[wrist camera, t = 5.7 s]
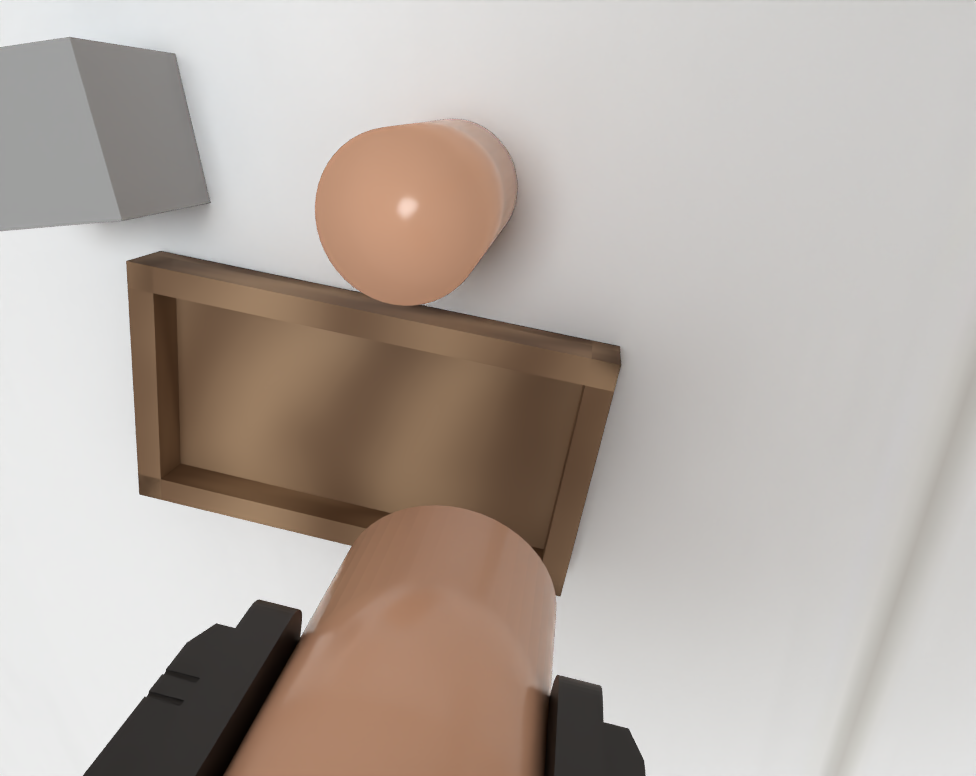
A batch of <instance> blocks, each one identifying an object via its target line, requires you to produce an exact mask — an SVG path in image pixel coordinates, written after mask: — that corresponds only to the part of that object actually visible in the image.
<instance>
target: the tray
mask: <svg viewBox="0 0 976 776" xmlns="http://www.w3.org/2000/svg"><path fill="white" fill-rule="evenodd" d="M126 264H127V282H128V300H129V318H130V336H131V353H132V371H133V389H134V407H135V425H136V443H137V460H138V478H139V494H140V495H144V496H148V497H153V498H157V499H161V500H165V501H169V502H173V503H177V504H181V505H186V506H190V507H194V508H198V509H202V510H206V511H210V512H214V513H219V514H223V515H227V516H231V517H235V518H239V519H243V520H247V521H252V522H256V523H260V524H264V525H268V526H272V527H276V528H280V529H285V530H289V531H293V532H297V533H301V534H305V535H309V536H313V537H318V538H322V539H326V540H330V541H334V542H338V543H342V544H346V545H350V546H352V545H353V543H354V542H355V540H356V539H357V538H358V537H359V536H360V535H361V533H362V532H363V531H364V530H366V529H367V528H368V527H369V526H370V525H371V524H373V523H374V522H376V521H378V520H379V519H381V518H382V517H385V516H387V515H389V514H391V513H393V512H396V511H400V510H403V509H406V508H412V507H418V506H430V505H440V506H452V507H457V508H463V509H467V510H471V511H474V512H477V513H480V514H483V515H485V516H487V517H490V518H492V519H494V520H496V521H498V522H500V523H501V524H503V525H505V526H507V527H508V528H510V529H511V530H512V531H514V532H515V533H516V534H518V535H519V536H520V537H521V538H522V539H523V540H525V541H526V542H527V543H528V544H529V545H530V546H531V547H532V549H533V550H534V551H535V552H536V553H537V555H538V556H539V557H540V559H541V560H542V562H543V564H544V565H545V567H546V568H547V571H548V573H549V575H550V577H551V580H552V583H553V587H554V590H555V595H557V596H561V592H562V588H563V584H564V581H565V577H566V573H567V569H568V565H569V561H570V558H571V554H572V550H573V546H574V542H575V539H576V535H577V531H578V527H579V523H580V519H581V516H582V512H583V508H584V504H585V500H586V497H587V493H588V489H589V485H590V481H591V478H592V474H593V470H594V466H595V462H596V458H597V455H598V451H599V447H600V443H601V439H602V436H603V432H604V428H605V424H606V420H607V416H608V413H609V409H610V405H611V401H612V397H613V394H614V390H615V386H616V382H617V378H618V375H619V371H620V367H621V358H620V346H615V345H611V344H606V343H601V342H596V341H591V340H586V339H582V338H577V337H572V336H567V335H562V334H558V333H553V332H548V331H543V330H538V329H533V328H529V327H524V326H519V325H514V324H509V323H505V322H500V321H495V320H490V319H485V318H480V317H476V316H471V315H466V314H461V313H456V312H452V311H447V310H442V309H437V308H432V307H427V306H423V305H413V306H402V305H393V304H389V303H385V302H381V301H378V300H376V299H373V298H371V297H369V296H367V295H365V294H363V293H360V292H355V291H350V290H346V289H341V288H336V287H331V286H326V285H321V284H317V283H312V282H307V281H302V280H297V279H293V278H288V277H283V276H278V275H273V274H268V273H264V272H259V271H254V270H249V269H244V268H240V267H235V266H230V265H225V264H220V263H215V262H211V261H206V260H201V259H196V258H191V257H187V256H182V255H177V254H172V253H167V252H162V251H159V252H156V253H152V254H149V255H145V256H142V257H139V258H135V259H132V260H128V261H126Z"/></svg>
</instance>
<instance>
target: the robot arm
mask: <svg viewBox="0 0 976 776" xmlns="http://www.w3.org/2000/svg"><path fill="white" fill-rule="evenodd" d="M301 624H302V612H301V610H299V609H295V608H291V607H287V606H283V605H279V604H275V603H271V602H267V601H263V600H257V601H255V602H254V603H253V604H252V606H251V607H250V608H249V610H248V611H247V612H246V614H245V615H244V617H243V618H242V620H241V621H240V622H239V624H238V625H237V627H236V628H232V627H228V626H224V625H220V624H215V625H213V626H212V627H210V628H209V629H207V630H206V631H204V632H203V633H201V634H200V635H198V636H196V637H195V638H193V639H192V640H190V641H189V642H187V643H186V645H185V646H184V647H183V648H182V650H181V651H180V652H179V653H178V655H177V656H176V657H175V659H174V660H173V661H172V662H171V664H170V665H169V666H168V668H167V669H166V672H165V674H164V675H163V674H162V675H161V676H160V678H159V679H158V680H157V682H156V683H155V684H154V685H153V687H152V688H151V689H150V691H149V694H148V696H147V697H144V698H143V699H142V701H141V702H140V703H139V705H138V706H137V707H136V708H135V710H134V711H133V712H132V714H131V715H130V716H129V717H128V719H127V720H126V721H125V722H124V724H123V725H122V726H121V728H120V729H119V730H118V731H117V733H116V734H115V735H114V737H113V738H112V739H111V740H110V742H109V743H108V744H107V745H106V747H105V748H104V749H103V751H102V752H101V753H100V754H99V756H98V757H97V758H96V760H95V761H94V762H93V763H92V765H91V766H90V767H89V768H88V770H87V771H86V772H85V774H84V775H83V776H223V774H224V773H225V771H226V769H227V767H228V766H229V764H230V762H231V760H232V758H233V757H234V755H235V753H236V751H237V750H238V748H239V746H240V744H241V742H242V741H243V739H244V737H245V735H246V733H247V732H248V730H249V728H250V726H251V725H252V723H253V721H254V719H255V717H256V716H257V714H258V712H259V710H260V709H261V707H262V705H263V703H264V701H265V700H266V698H267V696H268V694H269V693H270V691H271V689H272V687H273V685H274V684H275V682H276V680H277V678H278V676H279V675H280V673H281V671H282V669H283V668H284V666H285V664H286V662H287V660H288V659H289V657H290V655H291V653H292V652H293V650H294V648H295V646H296V644H297V643H298V641H299V639H300V634H301ZM544 776H645V765H644V759H643V757H642V755H641V753H640V751H639V749H638V747H637V745H636V743H635V741H634V739H633V737H632V735H631V733H630V731H629V729H628V728H624V727H620V726H616V725H612V724H608V723H604V722H603V695H602V688H601V686H600V685H596V684H592V683H588V682H584V681H580V680H576V679H572V678H568V677H564V676H560V675H557V676H556V678H555V680H554V683H553V687H552V690H551V693H550V699H549V714H548V728H547V743H546V757H545V772H544Z"/></svg>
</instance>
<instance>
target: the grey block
mask: <svg viewBox="0 0 976 776" xmlns="http://www.w3.org/2000/svg"><path fill="white" fill-rule="evenodd" d="M206 203H211V202H210V198H209V194H208V190H207V186H206V181H205V177H204V173H203V169H202V165H201V160H200V156H199V152H198V148H197V144H196V139H195V135H194V131H193V127H192V123H191V118H190V114H189V110H188V106H187V102H186V97H185V93H184V89H183V85H182V81H181V76H180V72H179V68H178V64H177V60H176V55H175V54H173V53H167V52H161V51H154V50H148V49H142V48H135V47H129V46H123V45H117V44H110V43H104V42H98V41H91V40H85V39H79V38H72V37H66V38H59V39H53V40H46V41H39V42H32V43H25V44H19V45H12V46H5V47H0V231H8V230H19V229H31V228H43V227H54V226H66V225H78V224H90V223H101V222H113V221H123V220H128V219H133V218H138V217H143V216H148V215H153V214H157V213H162V212H167V211H172V210H177V209H182V208H187V207H192V206H196V205H201V204H206Z"/></svg>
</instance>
